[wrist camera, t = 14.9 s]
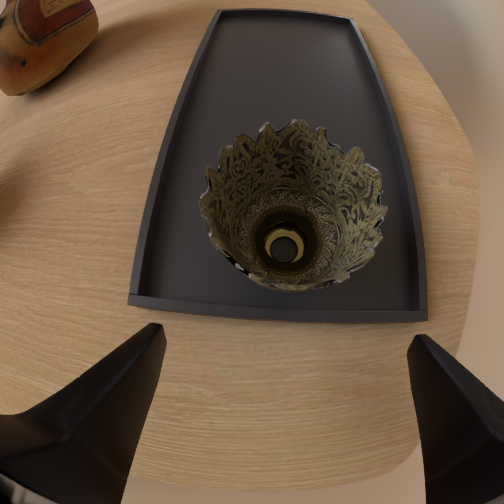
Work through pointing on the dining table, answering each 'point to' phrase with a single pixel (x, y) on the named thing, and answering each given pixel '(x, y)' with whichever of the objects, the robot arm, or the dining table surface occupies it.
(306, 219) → the cup
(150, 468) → the dining table surface
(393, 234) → the dark gray tray
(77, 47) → the ceramic pitcher
